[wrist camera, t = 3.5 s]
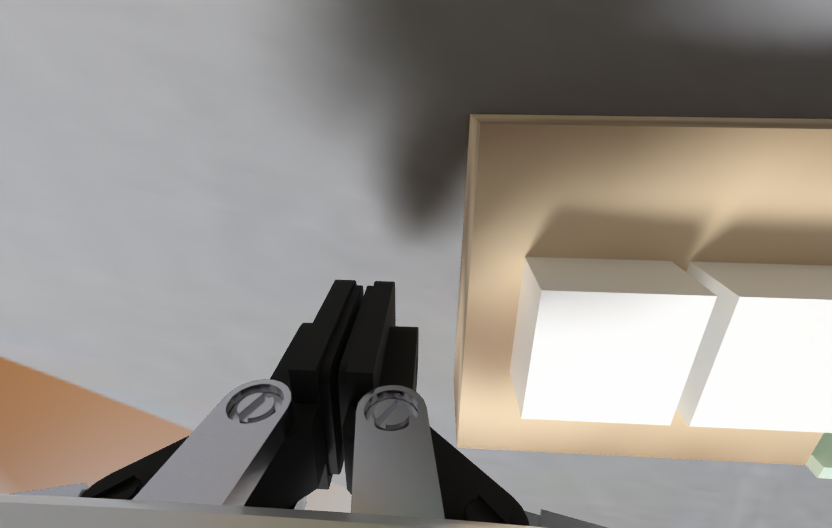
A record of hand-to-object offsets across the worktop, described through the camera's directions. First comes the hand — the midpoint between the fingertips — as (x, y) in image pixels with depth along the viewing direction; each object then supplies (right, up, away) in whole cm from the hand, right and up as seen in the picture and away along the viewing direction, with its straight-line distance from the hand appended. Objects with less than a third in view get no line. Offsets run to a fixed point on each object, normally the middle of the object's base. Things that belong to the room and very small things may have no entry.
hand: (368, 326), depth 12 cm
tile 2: (+11, 0, 0) cm, 11 cm away
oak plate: (+9, +2, +3) cm, 10 cm away
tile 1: (+6, 0, 0) cm, 6 cm away
